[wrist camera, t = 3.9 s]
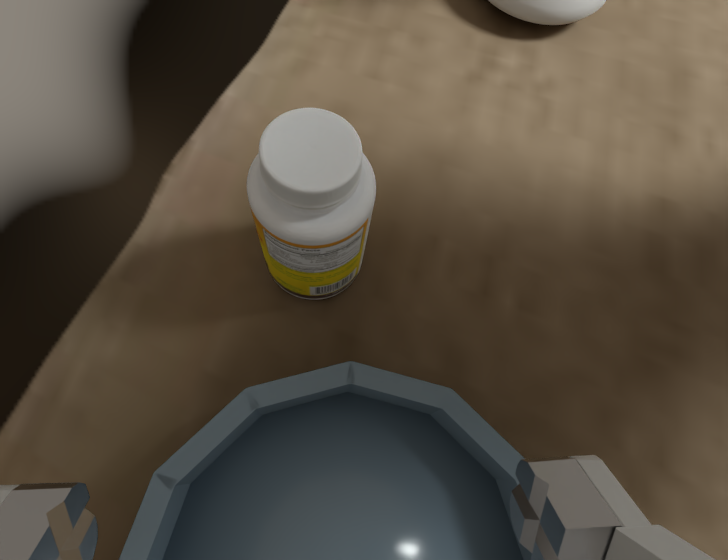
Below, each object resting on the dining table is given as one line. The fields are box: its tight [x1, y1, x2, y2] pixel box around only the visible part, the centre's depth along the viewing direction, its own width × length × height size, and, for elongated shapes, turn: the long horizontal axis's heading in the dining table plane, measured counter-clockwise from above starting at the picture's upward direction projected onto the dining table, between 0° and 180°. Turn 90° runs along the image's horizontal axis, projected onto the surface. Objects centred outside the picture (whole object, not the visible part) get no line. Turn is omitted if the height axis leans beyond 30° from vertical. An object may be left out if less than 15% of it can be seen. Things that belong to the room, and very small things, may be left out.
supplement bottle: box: [247, 108, 376, 300], centre depth 22 cm, size 6×6×10 cm
